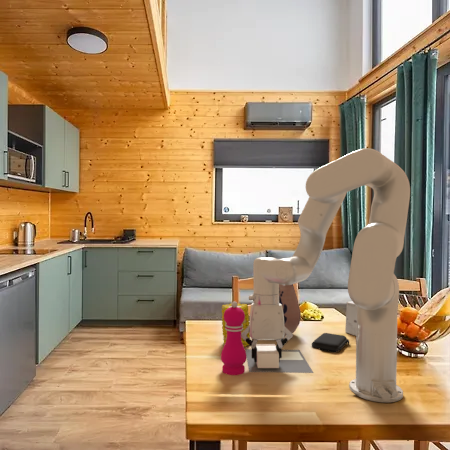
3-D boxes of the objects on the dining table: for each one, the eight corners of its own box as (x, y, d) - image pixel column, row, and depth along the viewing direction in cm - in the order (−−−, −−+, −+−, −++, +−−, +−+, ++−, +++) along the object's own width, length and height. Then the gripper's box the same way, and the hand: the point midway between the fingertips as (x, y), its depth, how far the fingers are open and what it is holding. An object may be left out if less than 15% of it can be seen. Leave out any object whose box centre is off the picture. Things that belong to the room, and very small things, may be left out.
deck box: (279, 368, 109) (279, 353, 109) (257, 368, 109) (257, 353, 109) (274, 357, 118) (274, 344, 118) (254, 357, 118) (254, 344, 118)
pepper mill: (224, 378, 104) (225, 304, 104) (217, 369, 111) (218, 299, 111) (249, 376, 106) (250, 303, 106) (241, 366, 113) (242, 298, 113)
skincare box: (344, 332, 152) (345, 301, 152) (353, 331, 154) (353, 300, 154) (356, 336, 146) (357, 304, 146) (365, 335, 148) (365, 303, 149)
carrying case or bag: (341, 355, 125) (352, 344, 138) (342, 346, 125) (352, 335, 138) (309, 350, 131) (322, 339, 143) (310, 341, 131) (322, 331, 143)
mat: (313, 374, 108) (313, 372, 108) (249, 373, 108) (249, 371, 108) (299, 351, 128) (299, 349, 128) (245, 350, 128) (245, 349, 128)
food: (238, 356, 127) (218, 349, 135) (261, 341, 135) (241, 336, 142) (229, 312, 125) (209, 308, 133) (253, 299, 133) (233, 296, 141)
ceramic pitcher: (247, 337, 143) (248, 270, 143) (264, 324, 162) (265, 265, 162) (294, 344, 136) (295, 273, 136) (306, 329, 155) (307, 267, 155)
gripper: (237, 301, 110) (237, 365, 110) (297, 301, 110) (298, 365, 110) (236, 297, 118) (236, 356, 117) (293, 297, 118) (293, 356, 117)
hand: (266, 360), depth 114 cm, fingers closed on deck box, 6 cm apart
